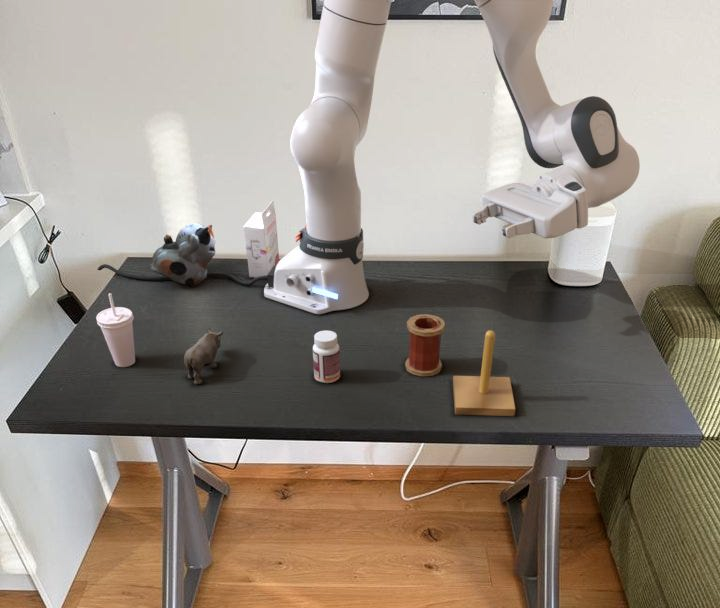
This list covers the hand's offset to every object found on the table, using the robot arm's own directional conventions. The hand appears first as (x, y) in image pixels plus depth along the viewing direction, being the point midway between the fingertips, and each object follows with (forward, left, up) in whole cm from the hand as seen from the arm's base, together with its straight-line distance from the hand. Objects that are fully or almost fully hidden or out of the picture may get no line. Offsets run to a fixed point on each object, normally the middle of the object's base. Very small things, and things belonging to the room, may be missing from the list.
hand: (489, 226), depth 131 cm
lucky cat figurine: (-69, +5, -24) cm, 73 cm away
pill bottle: (-22, -21, -24) cm, 39 cm away
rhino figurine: (-44, -26, -24) cm, 56 cm away
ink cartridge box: (-54, +14, -24) cm, 61 cm away
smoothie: (-59, -31, -24) cm, 71 cm away
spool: (-7, -11, -24) cm, 27 cm away
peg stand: (+6, -17, -24) cm, 30 cm away
